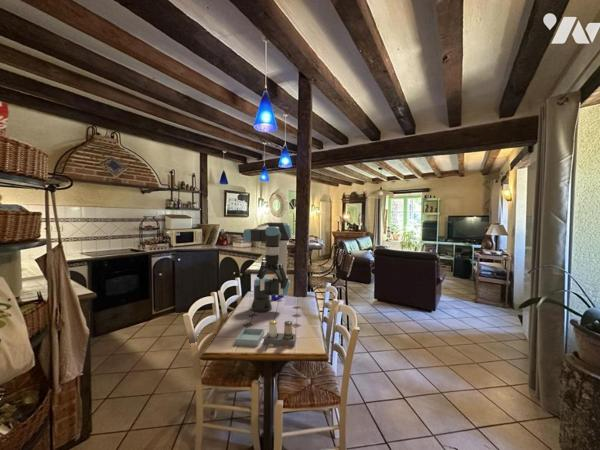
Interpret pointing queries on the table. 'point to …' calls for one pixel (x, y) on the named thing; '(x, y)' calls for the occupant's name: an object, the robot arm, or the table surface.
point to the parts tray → (250, 337)
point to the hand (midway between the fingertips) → (271, 292)
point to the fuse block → (280, 340)
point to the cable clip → (276, 297)
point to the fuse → (273, 329)
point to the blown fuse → (288, 330)
